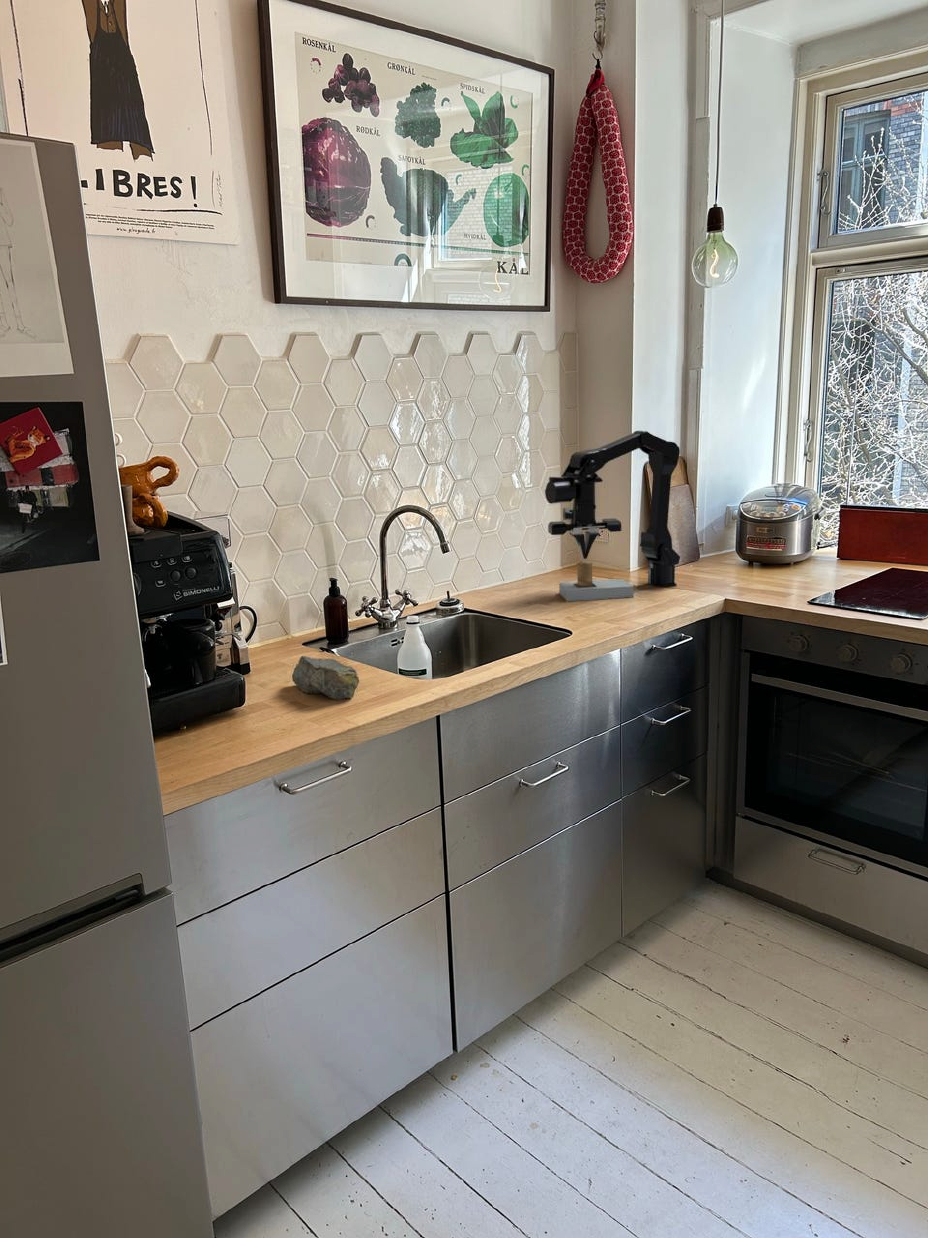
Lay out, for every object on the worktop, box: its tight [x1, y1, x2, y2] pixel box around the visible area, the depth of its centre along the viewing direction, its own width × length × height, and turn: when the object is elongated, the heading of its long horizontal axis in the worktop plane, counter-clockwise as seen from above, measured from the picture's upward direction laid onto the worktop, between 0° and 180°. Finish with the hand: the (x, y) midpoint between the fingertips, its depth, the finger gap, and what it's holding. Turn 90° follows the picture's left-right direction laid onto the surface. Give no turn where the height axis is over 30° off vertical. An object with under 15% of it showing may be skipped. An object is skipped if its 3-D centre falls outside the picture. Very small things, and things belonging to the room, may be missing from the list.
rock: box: [291, 655, 360, 701], centre depth 171 cm, size 17×7×10 cm
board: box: [558, 578, 634, 602], centre depth 241 cm, size 18×10×3 cm, turn 95°
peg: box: [576, 561, 593, 588], centre depth 240 cm, size 4×4×9 cm
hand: (584, 558), depth 238 cm, fingers closed
